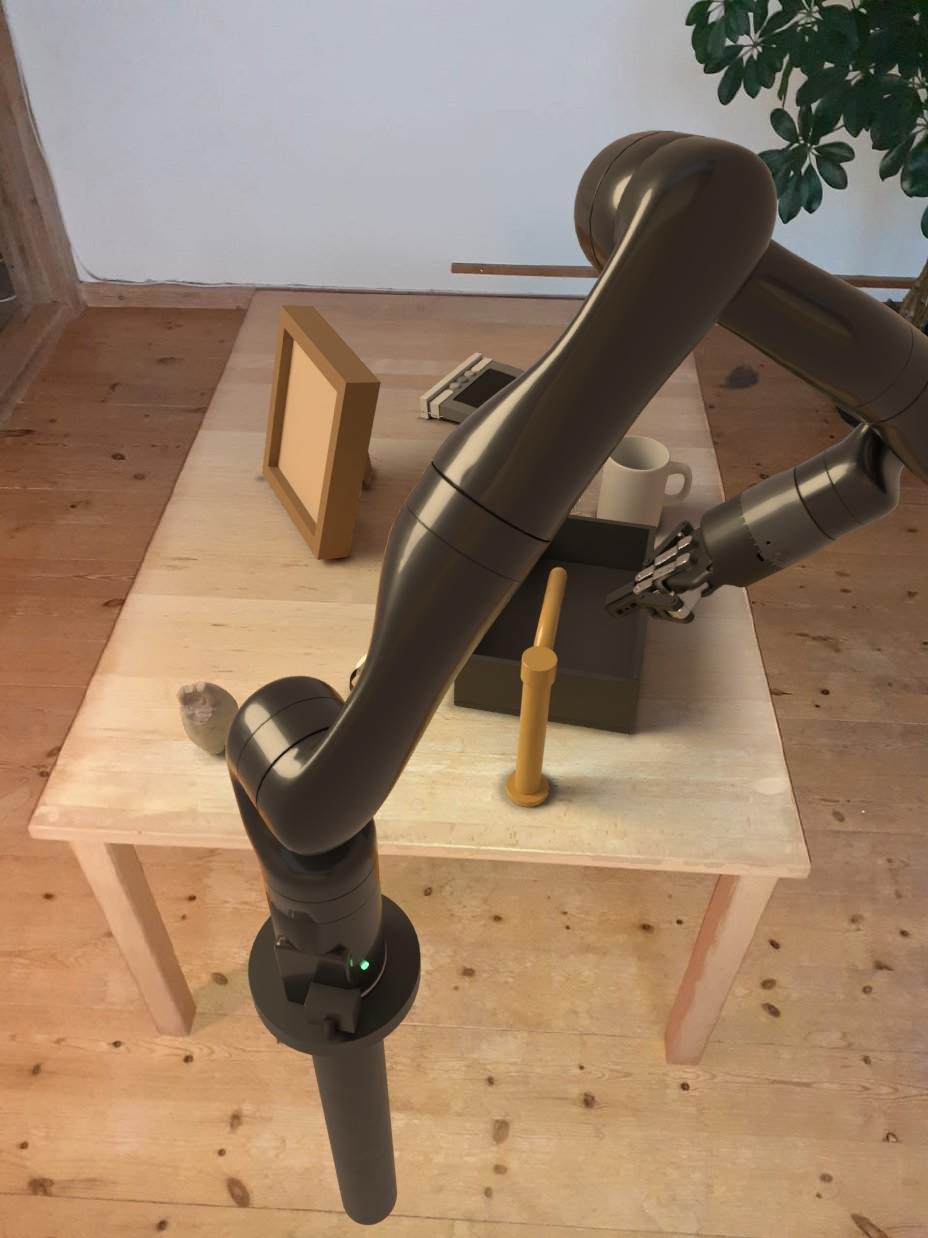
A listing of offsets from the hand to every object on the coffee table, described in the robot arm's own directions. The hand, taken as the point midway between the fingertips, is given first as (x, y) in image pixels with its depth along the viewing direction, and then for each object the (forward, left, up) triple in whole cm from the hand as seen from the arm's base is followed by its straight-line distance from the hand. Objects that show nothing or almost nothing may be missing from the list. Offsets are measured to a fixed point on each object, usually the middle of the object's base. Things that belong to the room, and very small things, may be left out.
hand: (610, 608), depth 94 cm
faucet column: (-9, +6, -18) cm, 21 cm away
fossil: (-11, +39, -18) cm, 44 cm away
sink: (+14, +6, -18) cm, 24 cm away
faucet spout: (-3, +6, -4) cm, 7 cm away
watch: (+2, +25, -18) cm, 31 cm away
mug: (+39, -2, -18) cm, 44 cm away
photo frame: (+33, +39, -18) cm, 54 cm away
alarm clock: (+64, +23, -18) cm, 70 cm away
